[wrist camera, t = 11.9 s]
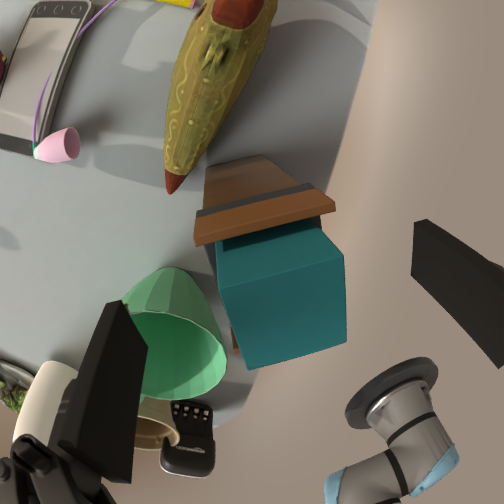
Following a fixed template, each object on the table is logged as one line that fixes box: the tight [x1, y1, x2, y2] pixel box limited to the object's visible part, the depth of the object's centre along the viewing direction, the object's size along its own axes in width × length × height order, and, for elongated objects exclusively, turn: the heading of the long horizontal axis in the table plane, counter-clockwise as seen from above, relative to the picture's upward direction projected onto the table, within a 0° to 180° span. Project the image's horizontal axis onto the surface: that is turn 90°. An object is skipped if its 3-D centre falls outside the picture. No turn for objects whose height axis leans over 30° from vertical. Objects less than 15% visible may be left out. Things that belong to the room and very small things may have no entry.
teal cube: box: [215, 218, 347, 370], centre depth 11 cm, size 4×4×4 cm
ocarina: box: [164, 0, 278, 195], centre depth 15 cm, size 20×5×10 cm, turn 159°
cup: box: [13, 361, 79, 446], centre depth 25 cm, size 8×8×14 cm
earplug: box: [33, 0, 117, 163], centre depth 16 cm, size 8×27×3 cm, turn 136°
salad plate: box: [0, 359, 35, 414], centre depth 31 cm, size 19×18×5 cm
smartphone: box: [0, 0, 95, 158], centre depth 16 cm, size 7×1×15 cm
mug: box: [122, 267, 228, 405], centre depth 24 cm, size 15×10×10 cm
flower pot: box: [134, 396, 180, 450], centre depth 30 cm, size 9×9×9 cm
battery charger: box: [159, 400, 215, 479], centre depth 31 cm, size 7×4×11 cm, turn 70°
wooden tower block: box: [203, 155, 301, 209], centre depth 19 cm, size 6×5×12 cm
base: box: [193, 183, 336, 354], centre depth 13 cm, size 6×5×3 cm
